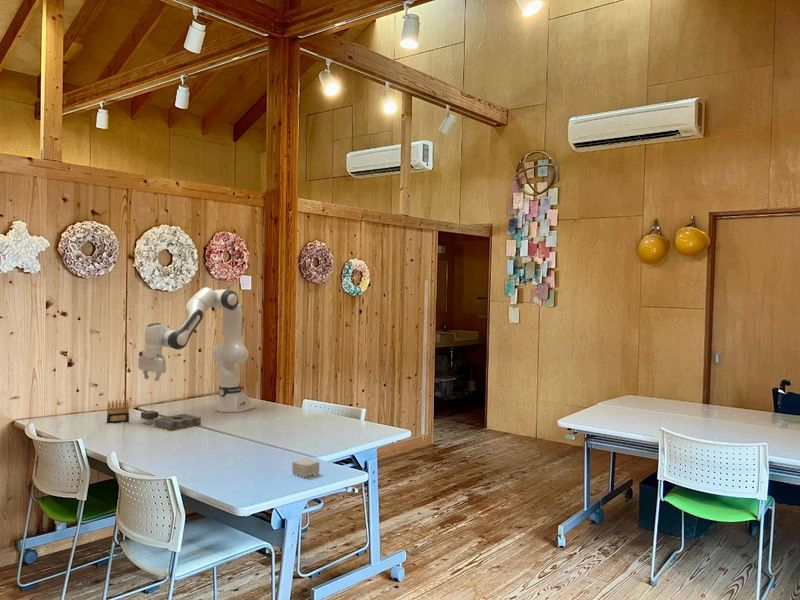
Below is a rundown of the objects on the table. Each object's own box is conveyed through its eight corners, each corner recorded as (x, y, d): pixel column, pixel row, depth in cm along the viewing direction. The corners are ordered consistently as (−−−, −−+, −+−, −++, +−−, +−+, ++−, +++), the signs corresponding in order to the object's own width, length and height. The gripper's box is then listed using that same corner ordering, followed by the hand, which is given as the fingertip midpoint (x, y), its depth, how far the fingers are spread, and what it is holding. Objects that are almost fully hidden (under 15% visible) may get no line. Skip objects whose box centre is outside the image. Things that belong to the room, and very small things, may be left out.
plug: (152, 421, 337) (152, 410, 336) (158, 423, 333) (158, 412, 333) (140, 423, 331) (141, 412, 331) (146, 425, 328) (147, 414, 328)
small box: (306, 470, 257) (307, 458, 257) (319, 474, 252) (319, 461, 252) (291, 474, 251) (291, 461, 251) (304, 478, 246) (304, 465, 246)
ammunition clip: (128, 421, 335) (129, 399, 335) (129, 422, 334) (129, 399, 333) (106, 423, 330) (106, 400, 329) (107, 424, 328) (107, 401, 328)
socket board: (184, 421, 339) (184, 412, 339) (200, 425, 331) (200, 416, 331) (154, 426, 325) (154, 417, 325) (170, 431, 317) (170, 421, 316)
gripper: (170, 355, 329) (168, 381, 329) (147, 352, 341) (145, 377, 340) (159, 355, 324) (157, 382, 323) (136, 352, 335) (135, 378, 335)
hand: (151, 380), depth 332 cm, fingers open, 8 cm apart
